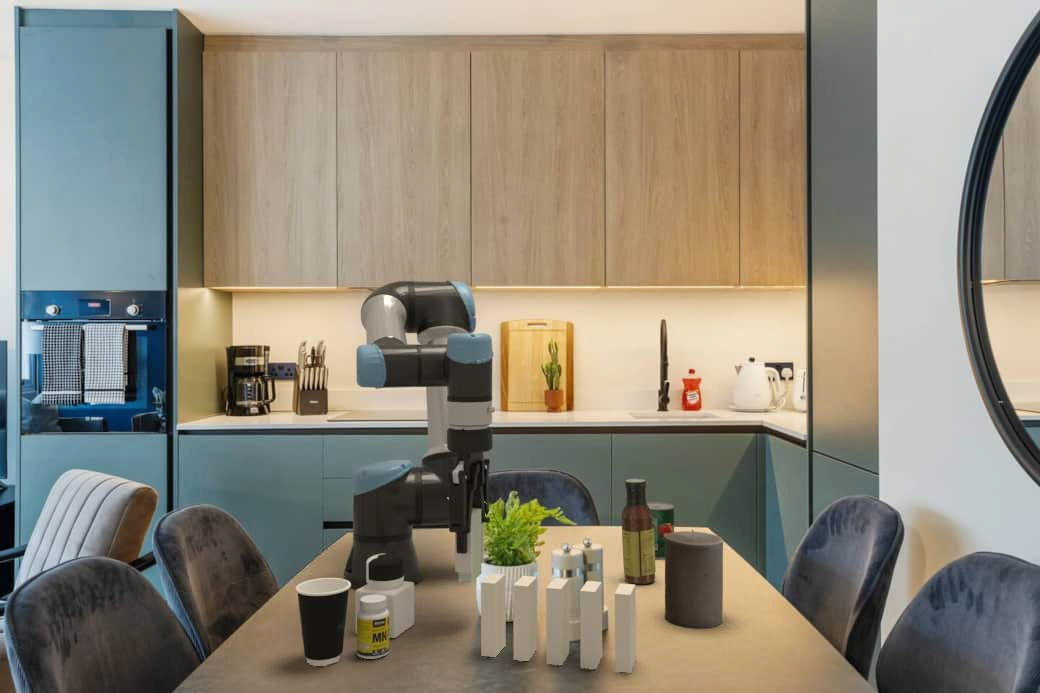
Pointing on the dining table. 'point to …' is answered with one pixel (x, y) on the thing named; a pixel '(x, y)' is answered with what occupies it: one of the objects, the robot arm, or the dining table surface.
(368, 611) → the supplement bottle
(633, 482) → the sauce bottle
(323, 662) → the dixie cup
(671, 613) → the pillar candle
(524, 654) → the domino
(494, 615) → the domino
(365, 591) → the white bottle
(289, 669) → the dining table surface
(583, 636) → the domino
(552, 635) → the domino
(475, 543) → the grey-green tall block
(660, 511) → the canned tomato
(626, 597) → the domino
